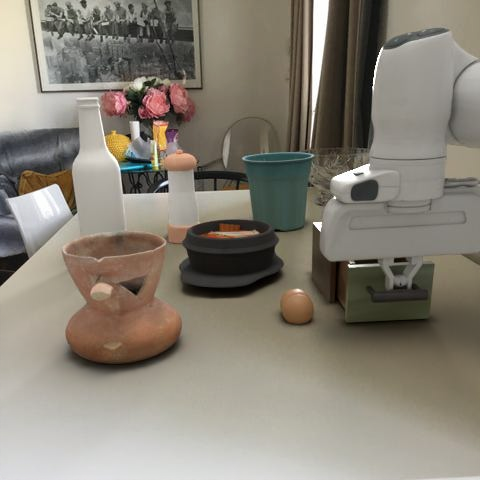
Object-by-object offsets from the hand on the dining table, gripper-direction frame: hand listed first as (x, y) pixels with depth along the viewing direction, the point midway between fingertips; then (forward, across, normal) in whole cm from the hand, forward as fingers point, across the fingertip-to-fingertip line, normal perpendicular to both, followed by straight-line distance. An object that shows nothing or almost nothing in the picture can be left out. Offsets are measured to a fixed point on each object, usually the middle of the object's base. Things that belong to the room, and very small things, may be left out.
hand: (397, 289), depth 73 cm
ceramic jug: (+6, +35, 0) cm, 36 cm away
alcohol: (+6, +44, -42) cm, 61 cm away
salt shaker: (+6, +29, -56) cm, 63 cm away
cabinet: (+6, 0, -18) cm, 19 cm away
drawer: (+5, 0, -7) cm, 8 cm away
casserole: (+6, +20, -29) cm, 36 cm away
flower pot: (+6, +7, -65) cm, 65 cm away
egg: (+6, +12, -6) cm, 15 cm away
